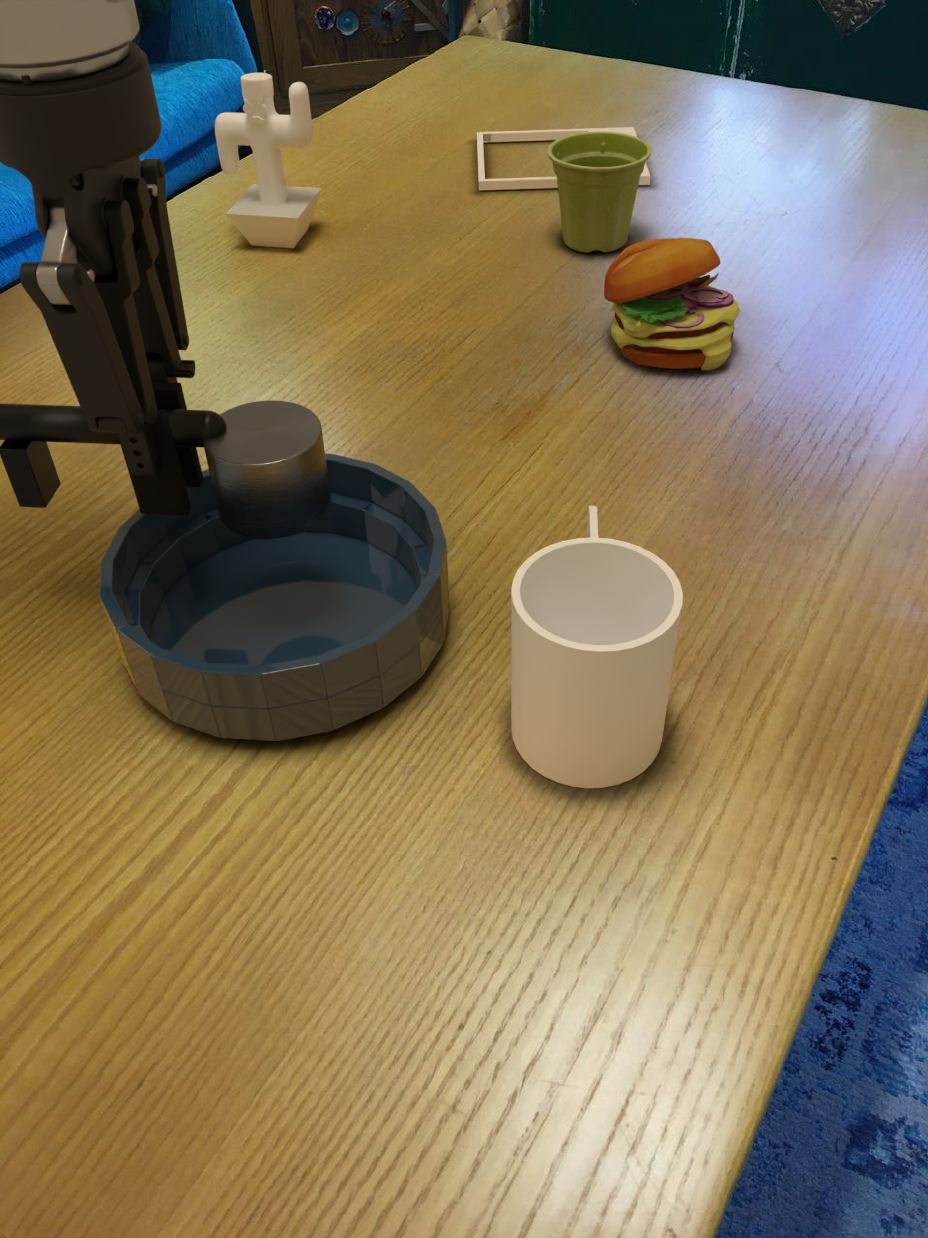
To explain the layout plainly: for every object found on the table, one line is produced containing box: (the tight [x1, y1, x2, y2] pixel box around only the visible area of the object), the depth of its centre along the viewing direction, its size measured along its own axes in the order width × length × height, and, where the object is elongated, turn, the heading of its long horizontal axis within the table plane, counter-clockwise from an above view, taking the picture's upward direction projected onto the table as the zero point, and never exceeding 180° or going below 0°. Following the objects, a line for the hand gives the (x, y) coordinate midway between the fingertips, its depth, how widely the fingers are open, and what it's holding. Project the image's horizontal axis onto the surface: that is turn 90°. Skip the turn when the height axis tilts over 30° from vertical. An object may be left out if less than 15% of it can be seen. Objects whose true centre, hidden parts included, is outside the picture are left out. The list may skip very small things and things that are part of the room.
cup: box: [510, 505, 684, 789], centre depth 56 cm, size 8×12×10 cm
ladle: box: [0, 400, 331, 540], centre depth 59 cm, size 19×6×6 cm, turn 84°
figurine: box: [214, 72, 322, 249], centre depth 100 cm, size 7×9×15 cm
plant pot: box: [547, 132, 652, 254], centre depth 100 cm, size 9×9×9 cm
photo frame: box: [476, 126, 651, 191], centre depth 117 cm, size 15×1×18 cm
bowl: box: [99, 452, 451, 742], centre depth 63 cm, size 19×19×6 cm
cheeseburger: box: [603, 237, 741, 371], centre depth 85 cm, size 10×11×10 cm
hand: (172, 495), depth 61 cm, fingers closed on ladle, 2 cm apart
